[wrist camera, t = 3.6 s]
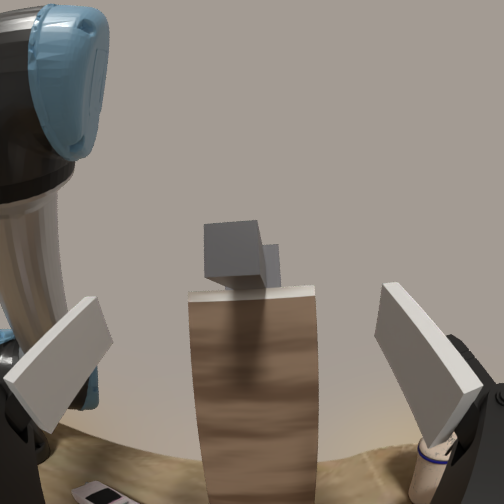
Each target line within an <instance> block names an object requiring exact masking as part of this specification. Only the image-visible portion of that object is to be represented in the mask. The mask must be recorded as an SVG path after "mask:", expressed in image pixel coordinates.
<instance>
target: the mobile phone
mask: <svg viewBox="0 0 504 504" xmlns="http://www.w3.org/2000/svg"><path fill="white" fill-rule="evenodd" d="M71 491H72V495H73V496H74V499H75V500H76V501H77V502H78V503H79V504H139V503H137V502H135V501H133V500H131V499H129V498H128V497H127V496H125V495H123V494H121V493H119V492H117V491H116V490H114V489H112V488H110V487H108V486H106V485H104V484H103V483H101V482H99V481H93V482H90V483H89V482H86V483H85V485H83V486H80V487H78V488H75V489H73V490H71Z"/></svg>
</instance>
